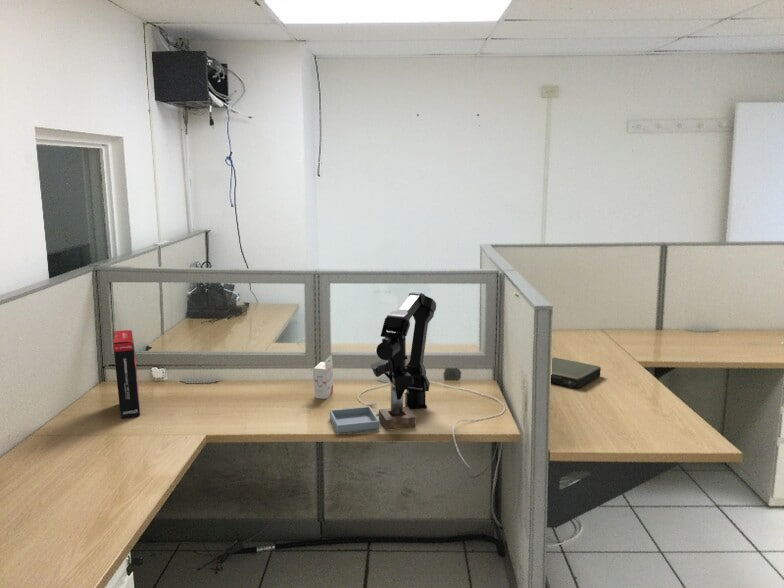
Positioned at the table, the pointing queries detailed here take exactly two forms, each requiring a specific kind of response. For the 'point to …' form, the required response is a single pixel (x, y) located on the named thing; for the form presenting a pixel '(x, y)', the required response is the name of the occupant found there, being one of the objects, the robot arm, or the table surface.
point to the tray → (354, 420)
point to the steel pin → (396, 401)
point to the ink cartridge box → (323, 379)
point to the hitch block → (397, 419)
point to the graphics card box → (126, 373)
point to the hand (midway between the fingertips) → (396, 397)
